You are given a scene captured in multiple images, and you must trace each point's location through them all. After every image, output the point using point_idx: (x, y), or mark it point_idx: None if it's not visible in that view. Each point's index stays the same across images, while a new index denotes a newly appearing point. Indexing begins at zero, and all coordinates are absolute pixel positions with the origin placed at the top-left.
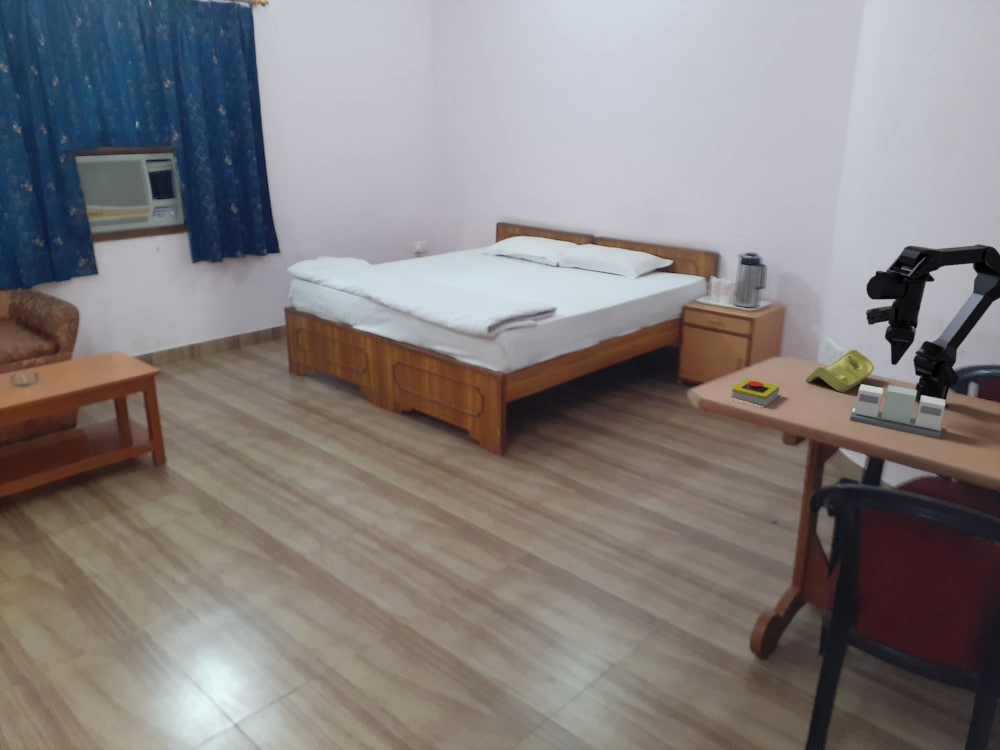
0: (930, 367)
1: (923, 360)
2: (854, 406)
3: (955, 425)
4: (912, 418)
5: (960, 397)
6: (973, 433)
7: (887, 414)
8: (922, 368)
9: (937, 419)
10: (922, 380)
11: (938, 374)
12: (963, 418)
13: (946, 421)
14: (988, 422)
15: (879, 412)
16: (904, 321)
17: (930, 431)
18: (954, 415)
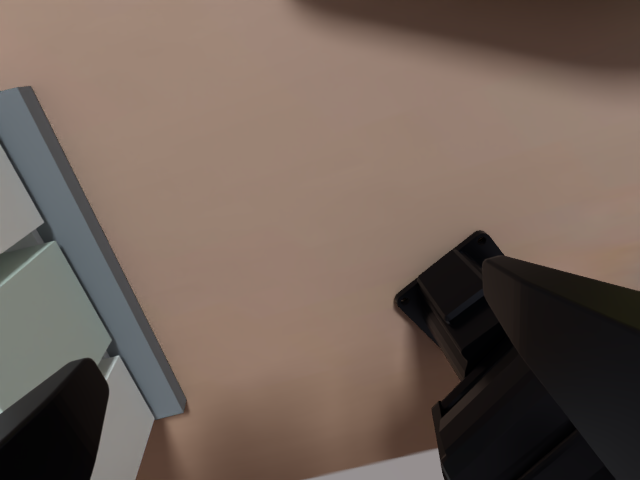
0: (453, 453)
1: (532, 425)
2: (14, 88)
3: (257, 417)
4: (134, 337)
5: None
6: (226, 464)
7: None
8: (492, 381)
9: None
10: (486, 324)
11: (440, 454)
12: (358, 410)
13: (275, 391)
14: (378, 457)
15: (62, 221)
16: None
17: None
18: (369, 387)
